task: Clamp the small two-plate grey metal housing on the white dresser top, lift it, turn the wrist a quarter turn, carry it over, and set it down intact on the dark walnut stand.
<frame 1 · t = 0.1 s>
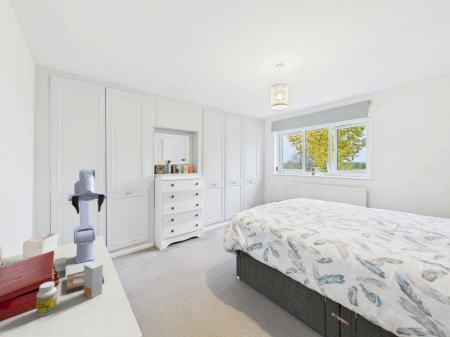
hand: (89, 211, 88), 32 cm above the dresser, tool tilted 50°, fingers open, 7 cm apart
supplement bottle: (46, 311, 72), on the dresser
walnut stand: (85, 281, 90), on the dresser
housing: (60, 275, 94), on the dresser
skincare box: (92, 294, 82), on the dresser
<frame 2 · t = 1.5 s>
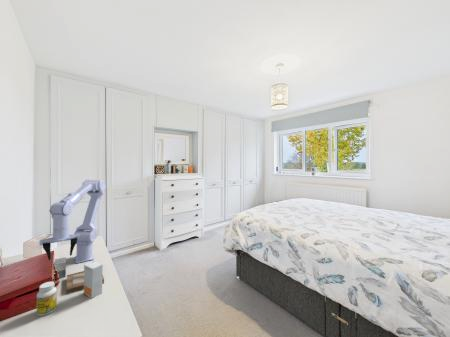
hand: (60, 256, 94), 9 cm above the dresser, tool pointing down, fingers open, 7 cm apart
nothing on the dresser moved.
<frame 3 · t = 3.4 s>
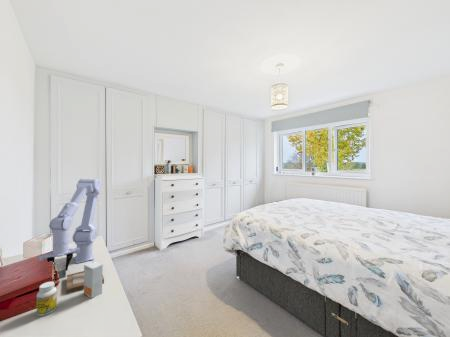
hand: (60, 271, 94), 2 cm above the dresser, tool pointing down, fingers closed on housing, 4 cm apart
housing: (60, 275, 94), on the dresser, touching gripper
everything else where it was.
when the fingers open (5 cm above the dresser, at t = 10.3 s): housing stays where it is, resting on walnut stand.
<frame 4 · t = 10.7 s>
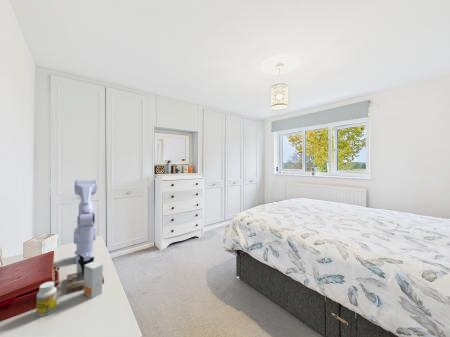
hand: (85, 270, 90), 5 cm above the dresser, tool pointing down, fingers open, 7 cm apart
housing: (85, 276, 90), point 2 cm above the dresser, touching walnut stand
everything else where it was.
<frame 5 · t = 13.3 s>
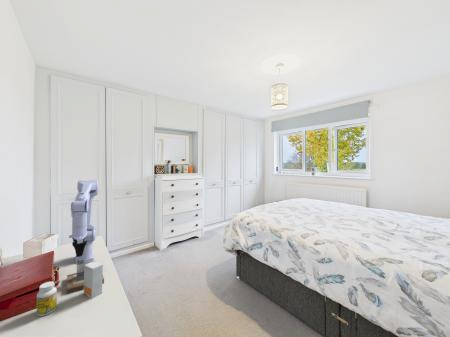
hand: (79, 253, 96), 9 cm above the dresser, tool pointing down, fingers open, 7 cm apart
nothing on the dresser moved.
at the end: housing inside the target area on the walnut stand (0.0 cm from its centre), point 2.0 cm above the walnut stand's base; housing tilted 0°; the gripper is holding nothing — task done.
